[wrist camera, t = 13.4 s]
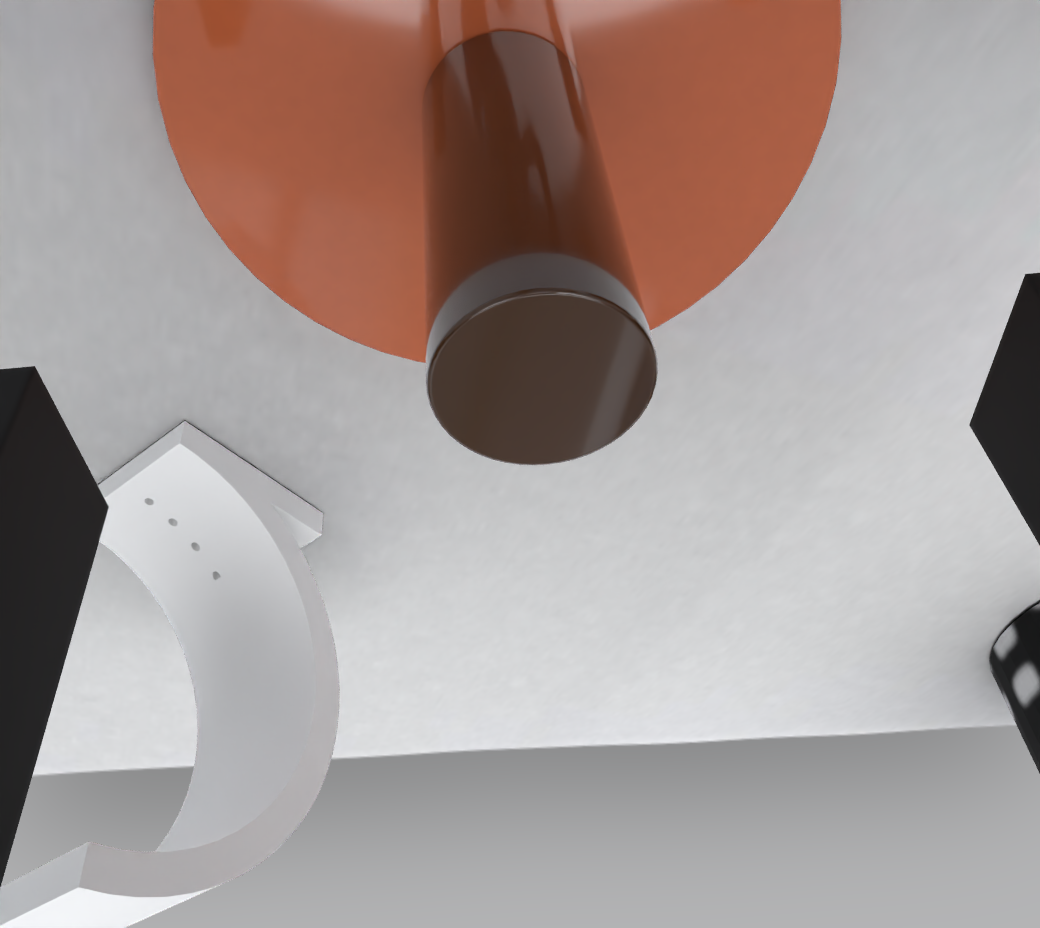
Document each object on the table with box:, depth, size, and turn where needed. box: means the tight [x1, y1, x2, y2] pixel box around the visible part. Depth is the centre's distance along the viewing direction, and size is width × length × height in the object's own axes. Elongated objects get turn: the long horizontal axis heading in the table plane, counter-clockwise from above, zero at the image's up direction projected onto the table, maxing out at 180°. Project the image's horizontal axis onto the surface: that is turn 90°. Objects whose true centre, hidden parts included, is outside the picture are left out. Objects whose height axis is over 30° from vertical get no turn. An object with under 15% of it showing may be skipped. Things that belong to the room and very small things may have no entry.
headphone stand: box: [0, 421, 339, 928], centre depth 24 cm, size 5×6×12 cm
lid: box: [153, 0, 841, 465], centre depth 17 cm, size 13×13×9 cm
